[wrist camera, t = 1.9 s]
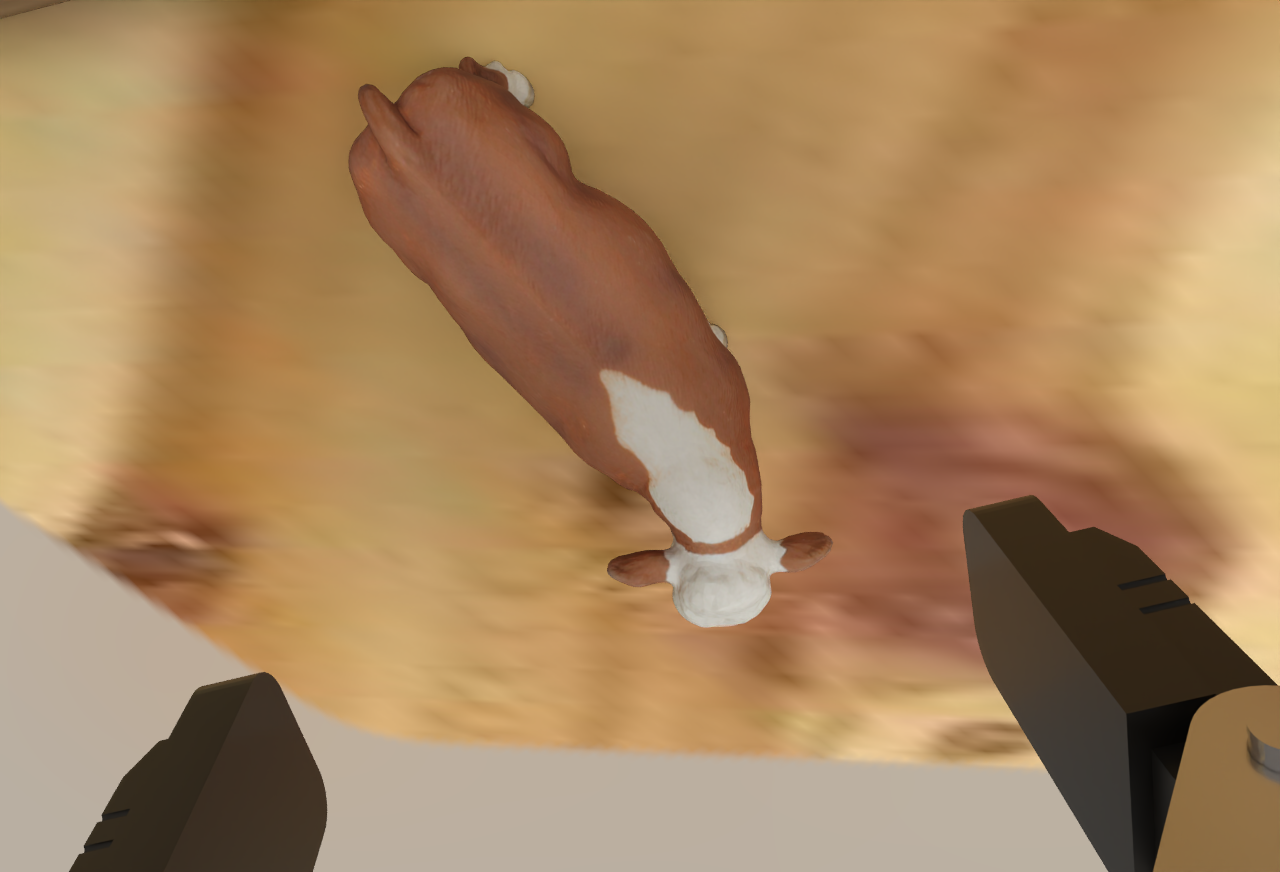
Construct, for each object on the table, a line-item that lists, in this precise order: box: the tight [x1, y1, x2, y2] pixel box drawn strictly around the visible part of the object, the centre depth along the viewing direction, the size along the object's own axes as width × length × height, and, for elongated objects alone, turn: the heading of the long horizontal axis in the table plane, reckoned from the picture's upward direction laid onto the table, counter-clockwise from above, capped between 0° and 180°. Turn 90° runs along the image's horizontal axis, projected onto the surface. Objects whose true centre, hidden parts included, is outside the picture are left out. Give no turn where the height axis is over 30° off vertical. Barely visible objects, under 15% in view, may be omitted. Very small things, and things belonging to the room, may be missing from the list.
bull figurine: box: [349, 57, 833, 627], centre depth 22 cm, size 4×13×8 cm, turn 33°
